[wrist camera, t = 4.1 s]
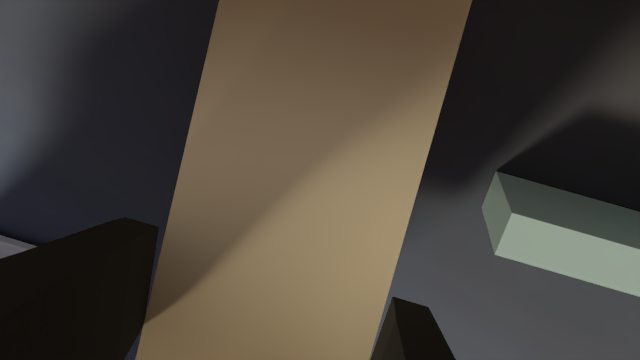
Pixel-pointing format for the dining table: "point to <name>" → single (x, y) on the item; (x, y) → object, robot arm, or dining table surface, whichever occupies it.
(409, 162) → the tan rectangular block
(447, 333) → the dining table surface
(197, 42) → the dining table surface
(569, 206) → the bracket
